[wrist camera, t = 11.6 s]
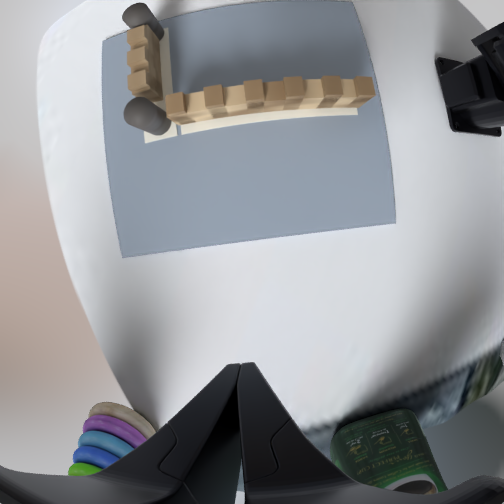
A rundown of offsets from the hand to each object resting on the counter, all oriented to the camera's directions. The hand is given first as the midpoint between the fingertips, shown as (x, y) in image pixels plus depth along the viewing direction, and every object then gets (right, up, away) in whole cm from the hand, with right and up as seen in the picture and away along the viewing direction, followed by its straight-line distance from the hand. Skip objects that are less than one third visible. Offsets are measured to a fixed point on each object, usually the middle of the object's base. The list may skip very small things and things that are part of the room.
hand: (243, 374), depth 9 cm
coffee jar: (+13, -15, +16) cm, 25 cm away
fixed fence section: (-7, +16, +9) cm, 20 cm away
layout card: (-1, +13, +9) cm, 16 cm away
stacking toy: (-13, -15, +16) cm, 26 cm away
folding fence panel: (+1, +13, +8) cm, 16 cm away
